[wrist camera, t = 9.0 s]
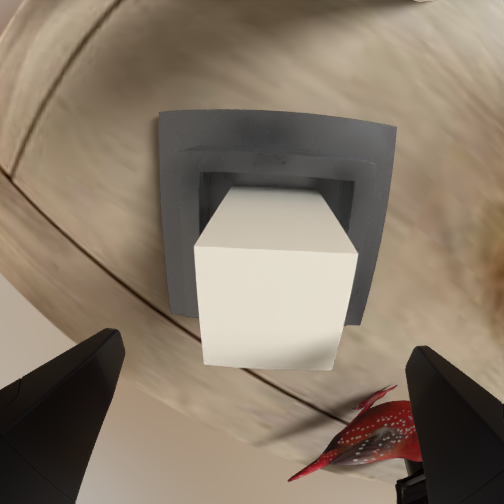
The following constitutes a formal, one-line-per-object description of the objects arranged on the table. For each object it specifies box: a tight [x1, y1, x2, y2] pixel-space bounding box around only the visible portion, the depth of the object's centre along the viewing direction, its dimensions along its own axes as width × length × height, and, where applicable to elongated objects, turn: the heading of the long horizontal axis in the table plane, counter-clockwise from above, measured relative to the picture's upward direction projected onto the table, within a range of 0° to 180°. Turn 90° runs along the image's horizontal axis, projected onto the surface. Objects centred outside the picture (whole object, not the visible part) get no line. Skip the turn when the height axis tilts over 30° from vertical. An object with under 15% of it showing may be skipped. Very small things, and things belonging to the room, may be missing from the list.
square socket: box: [159, 110, 397, 326], centre depth 17 cm, size 14×14×4 cm
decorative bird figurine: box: [288, 385, 422, 482], centre depth 22 cm, size 3×18×10 cm, turn 132°
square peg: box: [194, 186, 358, 370], centre depth 14 cm, size 5×5×9 cm
